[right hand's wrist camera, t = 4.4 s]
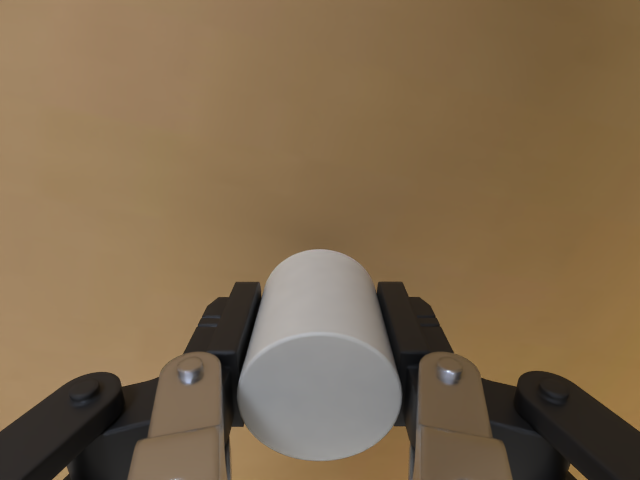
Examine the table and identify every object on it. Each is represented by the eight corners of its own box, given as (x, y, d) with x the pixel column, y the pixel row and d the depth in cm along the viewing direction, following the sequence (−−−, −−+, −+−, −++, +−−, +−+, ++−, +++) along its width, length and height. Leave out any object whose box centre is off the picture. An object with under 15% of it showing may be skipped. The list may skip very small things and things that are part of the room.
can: (279, 354, 14) (261, 473, 10) (249, 261, 12) (213, 350, 8) (384, 336, 13) (412, 449, 9) (365, 237, 12) (389, 318, 8)
